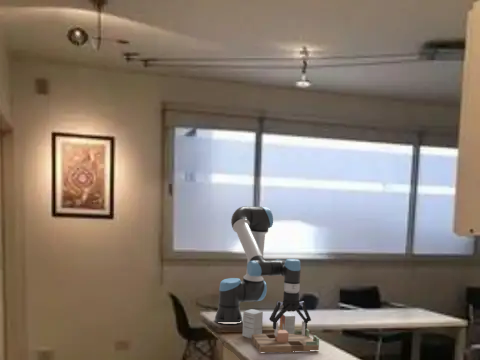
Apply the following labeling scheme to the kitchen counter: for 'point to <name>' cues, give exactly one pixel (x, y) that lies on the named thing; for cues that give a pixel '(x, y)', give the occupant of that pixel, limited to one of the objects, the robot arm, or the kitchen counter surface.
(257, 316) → the supplement box
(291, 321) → the small box
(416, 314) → the kitchen counter surface
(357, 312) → the kitchen counter surface
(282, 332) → the block
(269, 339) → the tray
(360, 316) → the kitchen counter surface
